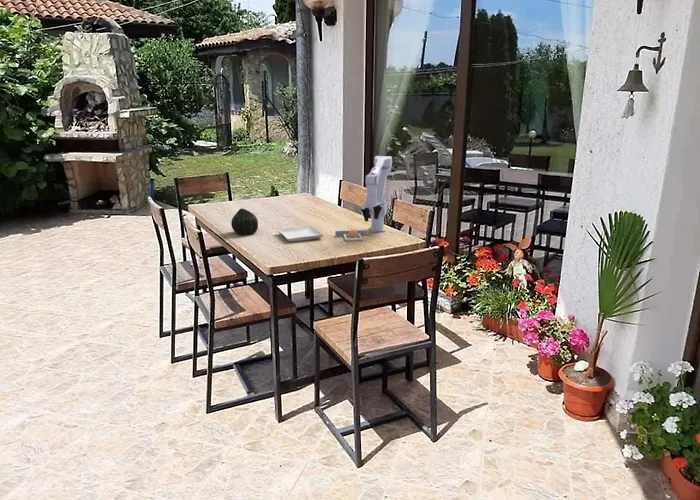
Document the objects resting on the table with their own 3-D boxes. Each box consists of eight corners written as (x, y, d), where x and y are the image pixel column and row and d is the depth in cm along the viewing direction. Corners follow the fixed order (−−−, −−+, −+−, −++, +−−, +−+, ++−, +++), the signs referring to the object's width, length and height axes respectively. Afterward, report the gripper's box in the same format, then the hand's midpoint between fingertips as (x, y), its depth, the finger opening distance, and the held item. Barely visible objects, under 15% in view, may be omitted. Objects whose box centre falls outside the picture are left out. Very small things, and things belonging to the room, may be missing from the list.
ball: (346, 237, 300) (346, 228, 299) (355, 236, 302) (355, 227, 300) (350, 239, 296) (350, 231, 294) (358, 238, 298) (358, 230, 296)
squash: (258, 227, 299) (256, 204, 305) (230, 229, 297) (229, 206, 303) (259, 239, 312) (257, 216, 318) (233, 241, 310) (232, 218, 316)
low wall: (335, 236, 304) (335, 230, 303) (366, 235, 306) (366, 230, 305) (335, 236, 303) (335, 231, 302) (367, 235, 305) (367, 230, 304)
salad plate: (287, 244, 289) (287, 238, 288) (276, 234, 307) (276, 228, 306) (324, 240, 297) (324, 234, 296) (311, 231, 316) (311, 225, 315)
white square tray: (342, 236, 303) (342, 233, 303) (360, 236, 304) (360, 233, 304) (344, 241, 294) (344, 238, 293) (362, 240, 295) (362, 238, 294)
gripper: (375, 193, 305) (375, 216, 309) (357, 196, 296) (357, 220, 299) (384, 195, 300) (384, 219, 304) (366, 198, 291) (365, 223, 294)
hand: (371, 220), depth 301 cm, fingers open, 7 cm apart
